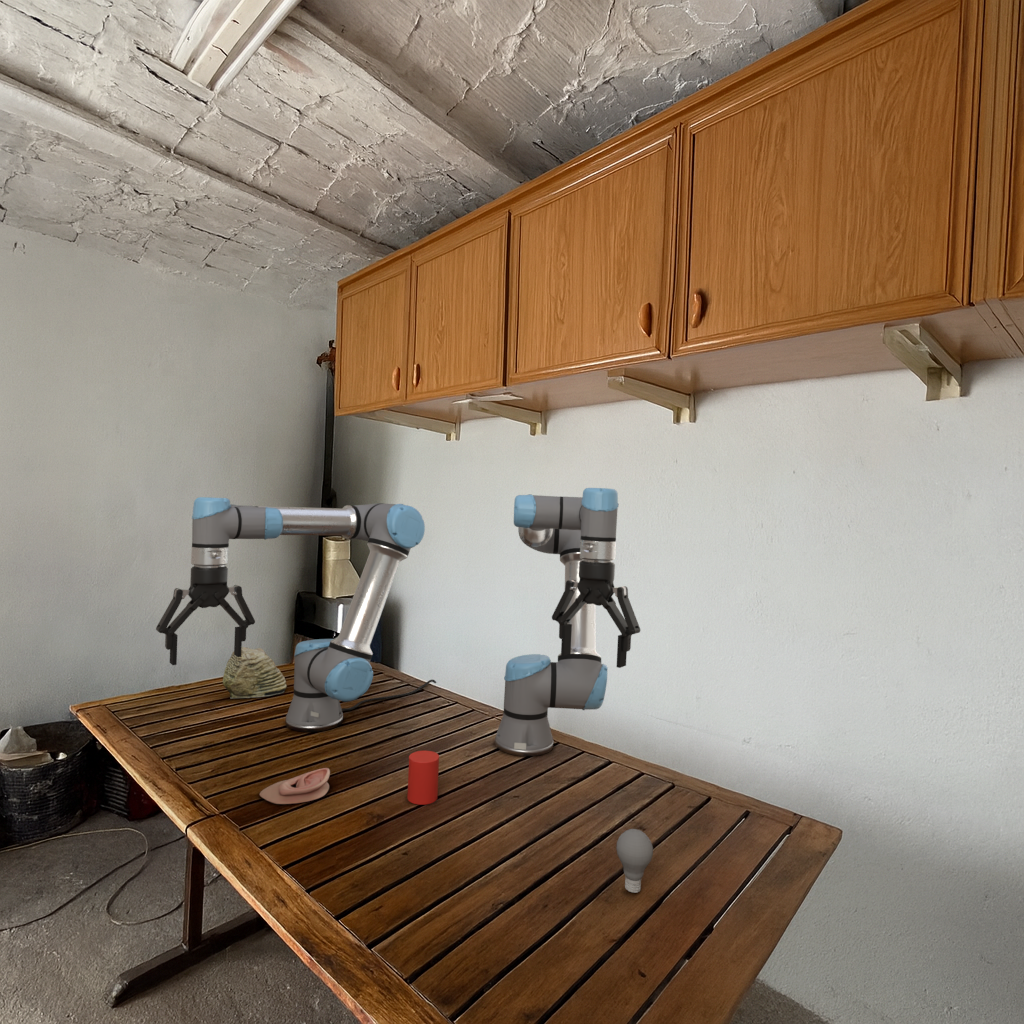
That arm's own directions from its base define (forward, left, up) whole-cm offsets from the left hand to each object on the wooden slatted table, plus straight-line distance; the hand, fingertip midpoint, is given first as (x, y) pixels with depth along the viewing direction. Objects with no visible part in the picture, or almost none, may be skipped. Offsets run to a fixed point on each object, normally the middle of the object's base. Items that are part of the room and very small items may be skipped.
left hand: (206, 659), depth 143 cm
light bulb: (-27, +94, -25) cm, 101 cm away
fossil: (-36, -42, -25) cm, 61 cm away
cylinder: (-26, +45, -25) cm, 58 cm away
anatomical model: (-8, +24, -25) cm, 36 cm away
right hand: (-47, +72, +6) cm, 87 cm away
